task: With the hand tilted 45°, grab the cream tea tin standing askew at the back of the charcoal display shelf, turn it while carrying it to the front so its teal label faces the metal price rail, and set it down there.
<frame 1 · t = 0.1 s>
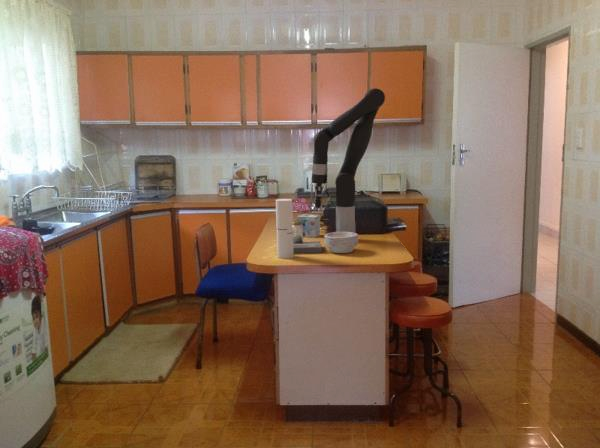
hand: (318, 206, 267), 17 cm above the worktop, tool pointing down, fingers open, 8 cm apart
cylindrical container: (285, 256, 239), on the worktop
paper bowls: (341, 251, 247), on the worktop
light bulb box: (308, 236, 284), on the worktop
tea tin: (297, 243, 254), point 2 cm above the worktop, touching display shelf
display shelf: (302, 249, 251), on the worktop
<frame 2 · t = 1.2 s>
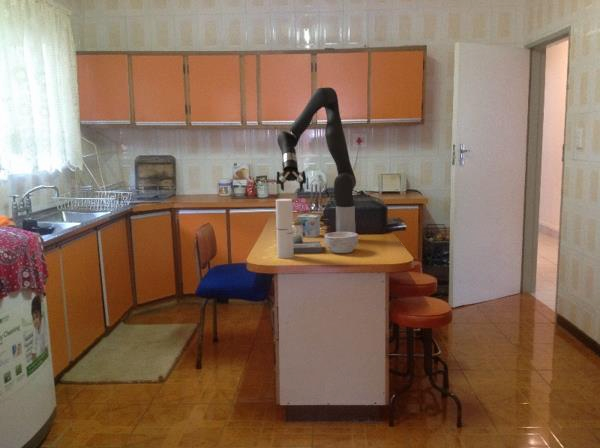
hand: (292, 189, 262), 26 cm above the worktop, tool tilted 45°, fingers open, 8 cm apart
nothing on the worktop moved.
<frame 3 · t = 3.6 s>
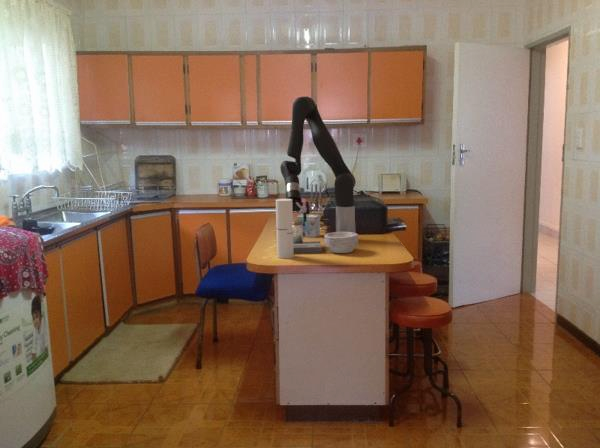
hand: (295, 220, 256), 12 cm above the worktop, tool tilted 45°, fingers open, 8 cm apart
nothing on the worktop moved.
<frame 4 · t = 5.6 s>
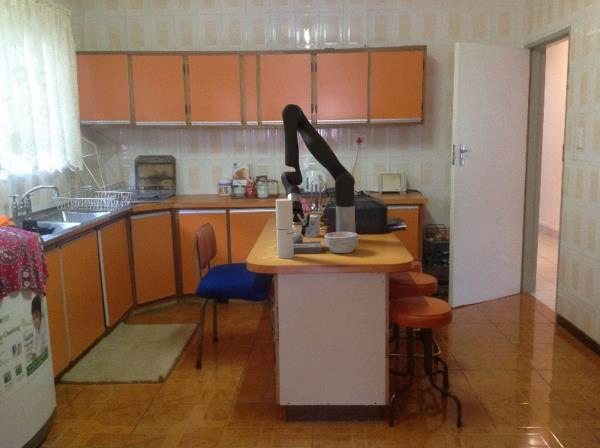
hand: (297, 234, 251), 7 cm above the worktop, tool tilted 45°, fingers closed on tea tin, 5 cm apart
tea tin: (297, 243, 254), point 3 cm above the worktop, touching display shelf, gripper
everything else where it was.
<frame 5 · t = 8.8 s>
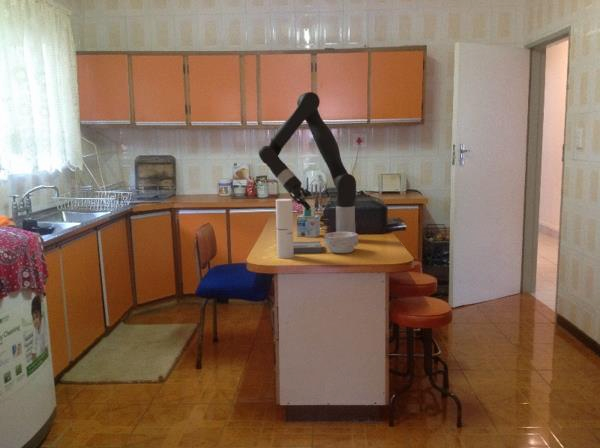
hand: (312, 208, 246), 19 cm above the worktop, tool tilted 45°, fingers closed on tea tin, 5 cm apart
tea tin: (309, 218, 248), point 15 cm above the worktop, touching gripper
everything else where it was.
when the fingers open (9 cm above the worktop, at t = 12.3 s): tea tin drops 1 cm, resting on display shelf.
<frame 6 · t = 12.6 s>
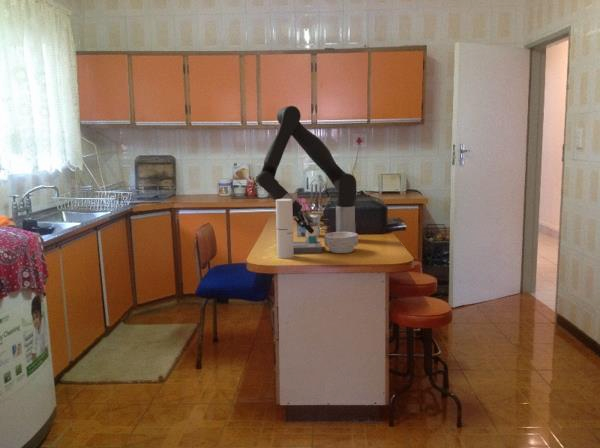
hand: (314, 230, 248), 9 cm above the worktop, tool tilted 45°, fingers open, 8 cm apart
tea tin: (312, 244, 250), point 3 cm above the worktop, touching display shelf
everything else where it was.
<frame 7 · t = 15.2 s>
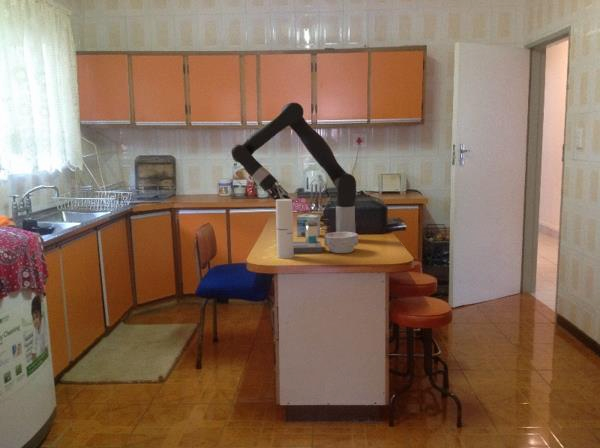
hand: (288, 204, 249), 21 cm above the worktop, tool tilted 45°, fingers open, 8 cm apart
nothing on the worktop moved.
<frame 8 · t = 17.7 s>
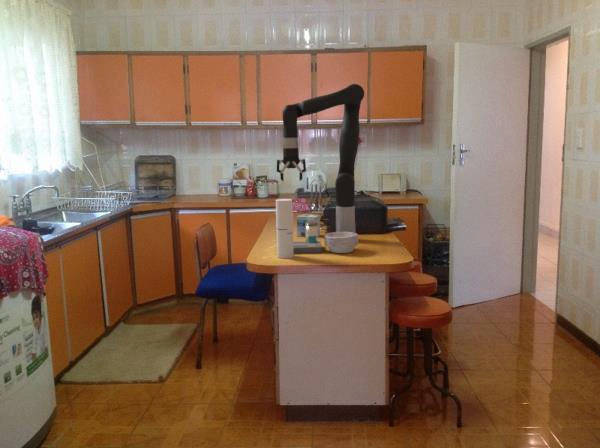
hand: (291, 180, 265), 30 cm above the worktop, tool pointing down, fingers open, 8 cm apart
nothing on the worktop moved.
at the end: tea tin inside the target area on the display shelf (1.0 cm from its centre), point 2.5 cm above the display shelf's base; tea tin tilted 0°; the gripper is holding nothing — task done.
